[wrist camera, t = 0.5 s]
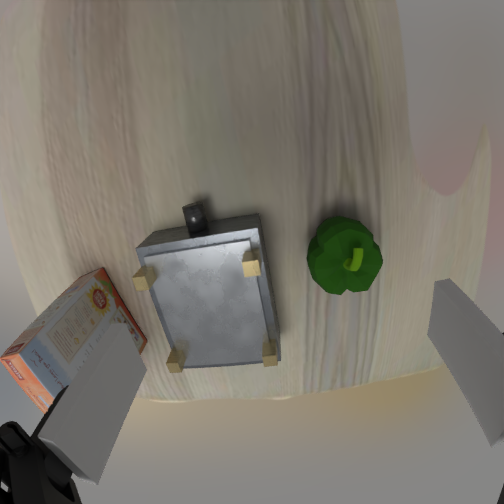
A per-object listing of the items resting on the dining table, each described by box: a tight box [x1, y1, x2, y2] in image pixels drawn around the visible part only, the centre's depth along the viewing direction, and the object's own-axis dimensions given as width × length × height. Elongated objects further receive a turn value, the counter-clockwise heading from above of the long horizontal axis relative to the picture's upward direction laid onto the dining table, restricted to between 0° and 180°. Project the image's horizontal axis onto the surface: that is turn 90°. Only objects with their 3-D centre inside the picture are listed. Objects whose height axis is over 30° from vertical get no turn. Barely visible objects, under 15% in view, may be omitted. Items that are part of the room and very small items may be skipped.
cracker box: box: [0, 268, 147, 414], centre depth 34 cm, size 14×6×21 cm, turn 21°
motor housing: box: [132, 202, 281, 373], centre depth 36 cm, size 21×14×9 cm, turn 10°
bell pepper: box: [307, 216, 383, 295], centre depth 33 cm, size 8×8×10 cm
